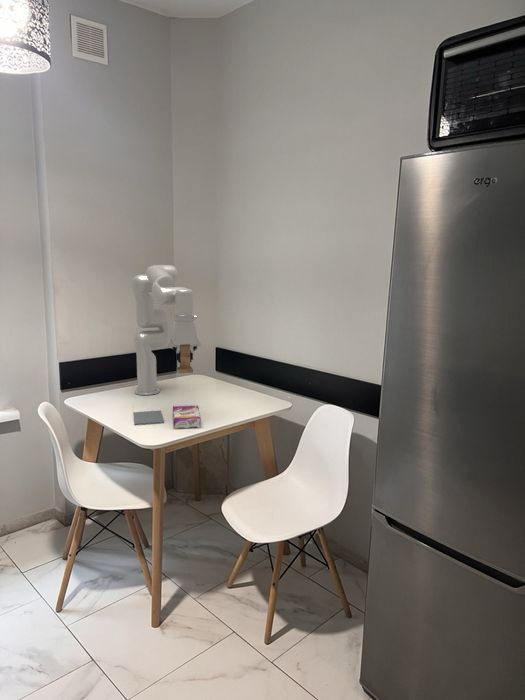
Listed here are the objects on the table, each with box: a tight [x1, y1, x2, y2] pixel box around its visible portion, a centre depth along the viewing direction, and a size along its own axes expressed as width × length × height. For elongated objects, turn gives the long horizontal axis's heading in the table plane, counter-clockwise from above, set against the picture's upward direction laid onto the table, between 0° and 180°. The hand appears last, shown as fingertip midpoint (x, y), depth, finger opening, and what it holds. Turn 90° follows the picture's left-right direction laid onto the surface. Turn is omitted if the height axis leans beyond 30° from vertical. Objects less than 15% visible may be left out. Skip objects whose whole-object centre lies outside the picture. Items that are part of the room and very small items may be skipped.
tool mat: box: [133, 410, 165, 426], centre depth 219 cm, size 16×12×1 cm
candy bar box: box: [172, 405, 202, 429], centre depth 214 cm, size 11×5×16 cm
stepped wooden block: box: [176, 344, 194, 374], centre depth 215 cm, size 6×6×12 cm
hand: (184, 361), depth 215 cm, fingers closed on stepped wooden block, 4 cm apart
